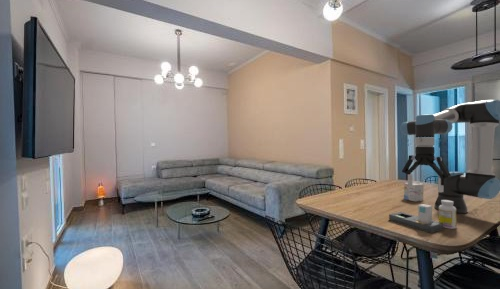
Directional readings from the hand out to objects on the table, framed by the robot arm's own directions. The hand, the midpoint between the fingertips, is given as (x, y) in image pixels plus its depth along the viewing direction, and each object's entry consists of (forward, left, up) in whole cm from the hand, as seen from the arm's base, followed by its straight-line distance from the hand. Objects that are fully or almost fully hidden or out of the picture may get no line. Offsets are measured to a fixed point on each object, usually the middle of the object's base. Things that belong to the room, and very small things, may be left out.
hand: (424, 189), depth 113 cm
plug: (0, 0, -19) cm, 19 cm away
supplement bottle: (-11, +4, -19) cm, 23 cm away
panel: (0, -5, -19) cm, 20 cm away
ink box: (-49, -33, -19) cm, 62 cm away
